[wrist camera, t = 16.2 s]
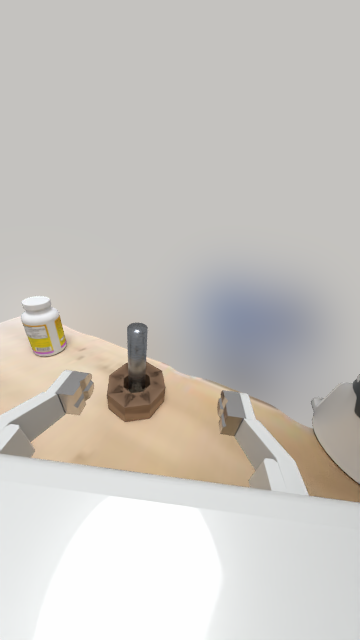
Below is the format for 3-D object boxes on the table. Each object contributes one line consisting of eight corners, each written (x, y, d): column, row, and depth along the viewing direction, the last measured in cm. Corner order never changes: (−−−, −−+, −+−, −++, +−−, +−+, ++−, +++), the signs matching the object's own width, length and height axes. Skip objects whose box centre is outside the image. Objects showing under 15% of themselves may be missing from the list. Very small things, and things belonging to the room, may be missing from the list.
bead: (158, 373, 40) (160, 360, 38) (165, 415, 32) (168, 402, 30) (112, 377, 38) (110, 364, 36) (106, 424, 29) (104, 410, 27)
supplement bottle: (58, 337, 47) (46, 291, 41) (72, 347, 44) (62, 301, 38) (28, 349, 42) (9, 299, 36) (41, 362, 39) (23, 310, 33)
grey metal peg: (143, 388, 37) (146, 322, 29) (144, 401, 34) (148, 333, 26) (128, 389, 36) (127, 322, 28) (128, 403, 33) (127, 333, 25)
